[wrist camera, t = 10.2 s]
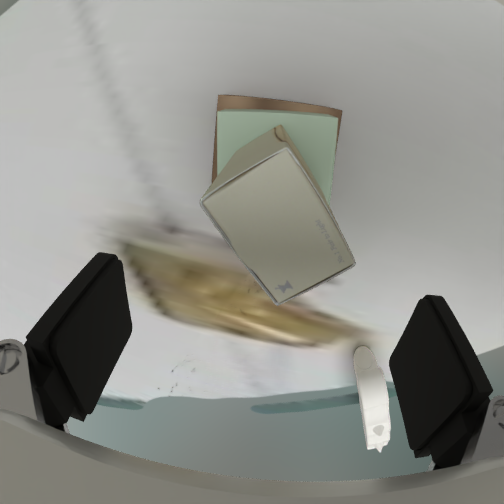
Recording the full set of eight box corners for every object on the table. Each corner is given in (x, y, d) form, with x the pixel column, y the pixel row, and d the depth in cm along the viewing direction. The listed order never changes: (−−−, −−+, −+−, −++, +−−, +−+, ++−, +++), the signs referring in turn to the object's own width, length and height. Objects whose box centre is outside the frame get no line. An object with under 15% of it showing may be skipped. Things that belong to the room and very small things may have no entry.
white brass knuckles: (358, 399, 50) (370, 468, 37) (347, 334, 42) (365, 420, 30) (375, 394, 50) (390, 463, 37) (369, 328, 42) (394, 412, 29)
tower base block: (333, 108, 29) (342, 110, 25) (316, 206, 34) (322, 222, 30) (225, 94, 29) (218, 95, 25) (217, 194, 34) (210, 208, 30)
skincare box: (321, 188, 24) (363, 267, 13) (273, 216, 25) (277, 311, 15) (279, 120, 22) (291, 141, 11) (229, 151, 23) (195, 203, 12)
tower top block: (328, 114, 25) (338, 118, 21) (319, 207, 29) (326, 226, 26) (225, 108, 26) (217, 111, 22) (225, 202, 30) (218, 221, 26)
